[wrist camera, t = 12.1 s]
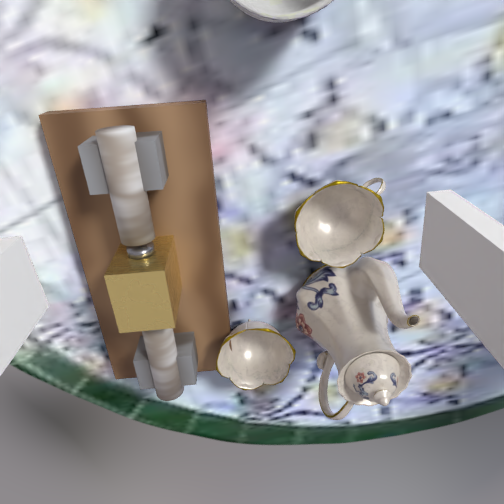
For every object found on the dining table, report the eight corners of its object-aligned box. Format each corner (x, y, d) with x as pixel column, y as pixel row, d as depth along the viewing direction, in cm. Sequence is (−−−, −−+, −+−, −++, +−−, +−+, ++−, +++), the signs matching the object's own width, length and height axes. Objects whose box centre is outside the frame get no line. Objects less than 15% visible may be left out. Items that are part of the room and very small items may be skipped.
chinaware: (299, 139, 40) (318, 187, 25) (447, 199, 42) (545, 276, 27) (210, 349, 52) (186, 468, 37) (329, 388, 54) (353, 515, 39)
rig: (205, 100, 36) (202, 112, 30) (233, 356, 50) (234, 401, 44) (47, 111, 36) (10, 126, 30) (119, 367, 50) (104, 413, 44)
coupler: (172, 227, 40) (162, 262, 33) (183, 292, 43) (176, 335, 37) (120, 231, 39) (101, 267, 33) (136, 297, 43) (121, 340, 37)
